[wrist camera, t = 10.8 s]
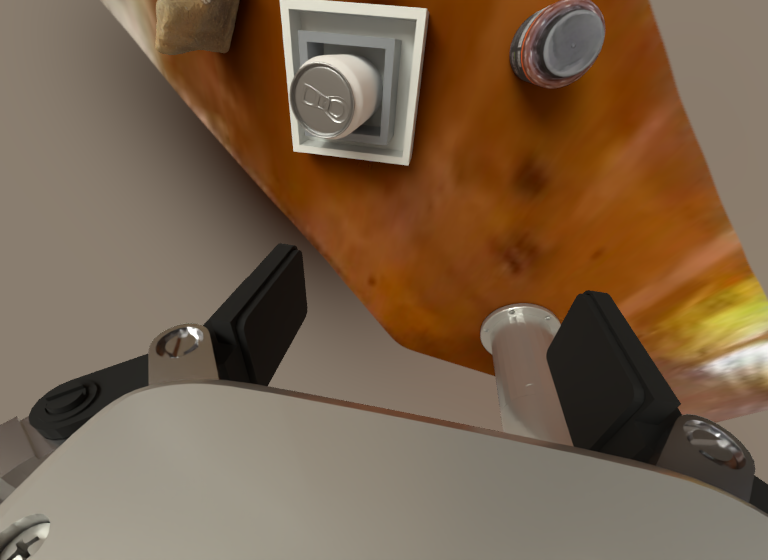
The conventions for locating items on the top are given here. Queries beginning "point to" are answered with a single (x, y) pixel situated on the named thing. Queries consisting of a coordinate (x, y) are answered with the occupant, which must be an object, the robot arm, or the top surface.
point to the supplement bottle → (558, 43)
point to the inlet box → (379, 45)
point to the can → (335, 94)
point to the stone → (195, 25)
